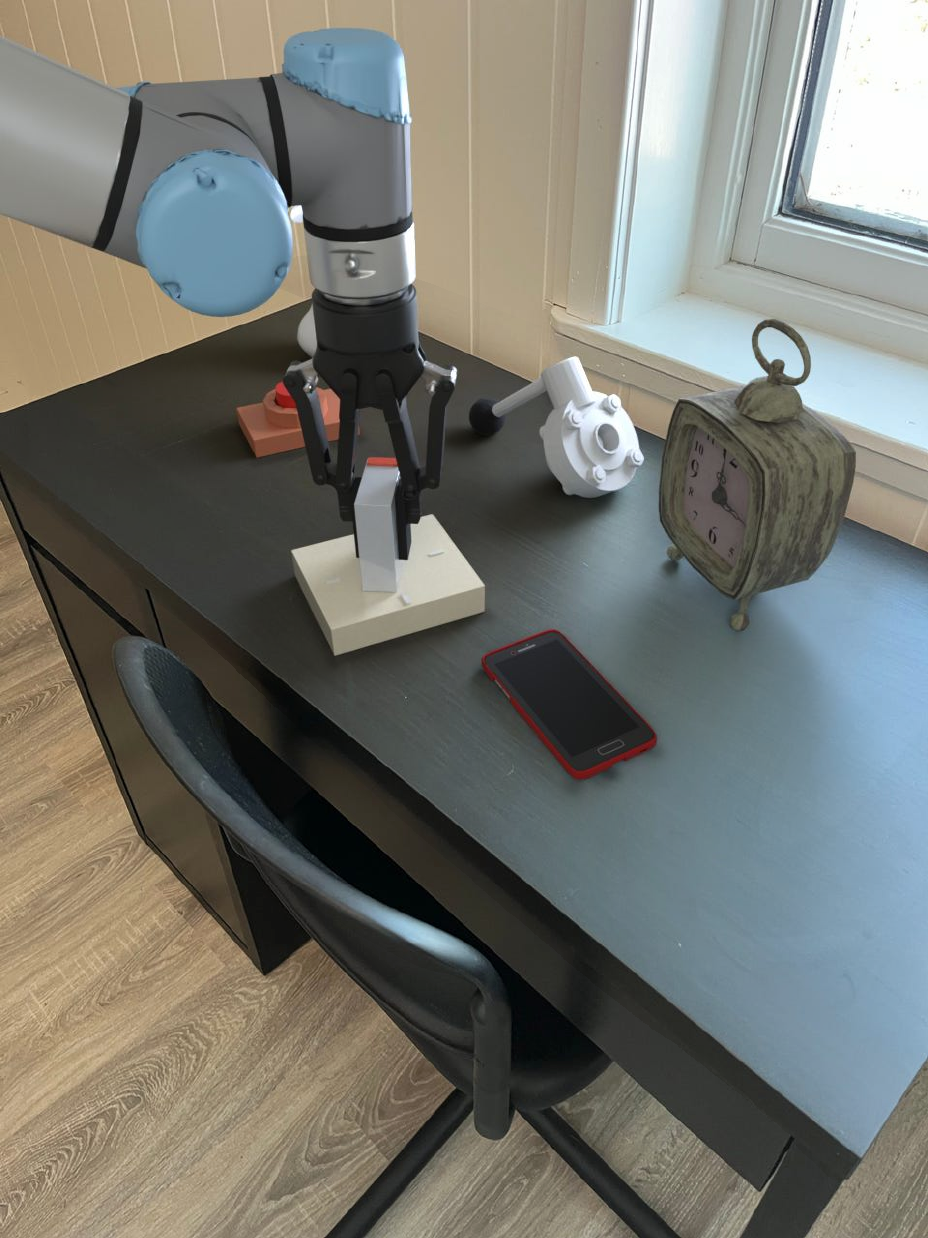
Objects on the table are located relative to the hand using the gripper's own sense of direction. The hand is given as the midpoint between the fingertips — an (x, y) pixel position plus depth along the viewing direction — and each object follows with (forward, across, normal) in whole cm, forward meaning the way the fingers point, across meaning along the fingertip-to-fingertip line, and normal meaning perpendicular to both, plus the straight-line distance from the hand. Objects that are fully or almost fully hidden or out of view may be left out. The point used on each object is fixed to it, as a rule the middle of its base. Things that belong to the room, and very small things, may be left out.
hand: (384, 549), depth 83 cm
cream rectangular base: (+5, 0, 0) cm, 5 cm away
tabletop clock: (+5, +31, +3) cm, 32 cm away
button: (+1, -14, +29) cm, 32 cm away
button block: (+5, -14, +29) cm, 32 cm away
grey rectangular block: (+2, 0, 0) cm, 2 cm away
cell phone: (+5, +16, -13) cm, 21 cm away
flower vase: (+5, -13, +48) cm, 50 cm away
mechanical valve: (+5, +14, +23) cm, 27 cm away
